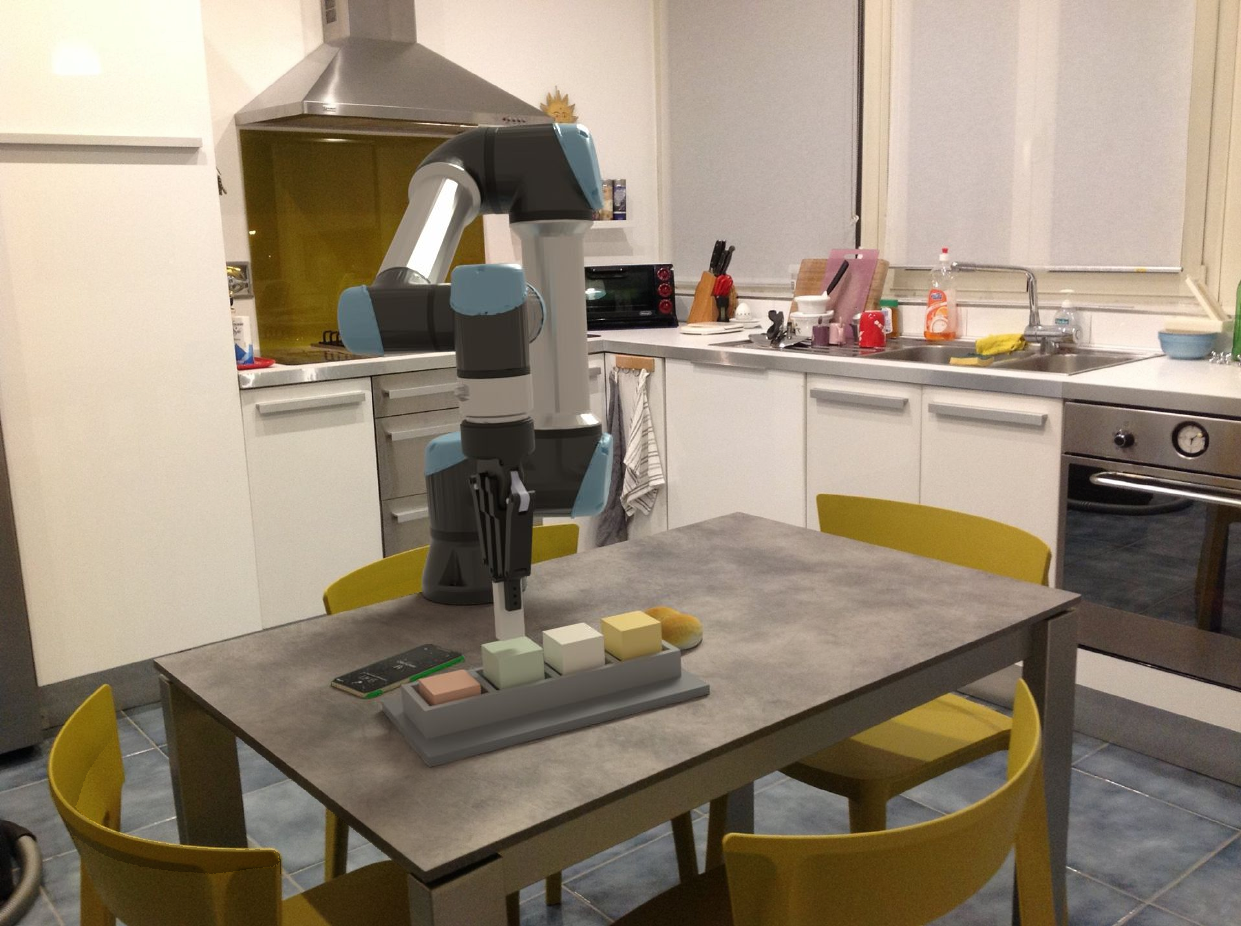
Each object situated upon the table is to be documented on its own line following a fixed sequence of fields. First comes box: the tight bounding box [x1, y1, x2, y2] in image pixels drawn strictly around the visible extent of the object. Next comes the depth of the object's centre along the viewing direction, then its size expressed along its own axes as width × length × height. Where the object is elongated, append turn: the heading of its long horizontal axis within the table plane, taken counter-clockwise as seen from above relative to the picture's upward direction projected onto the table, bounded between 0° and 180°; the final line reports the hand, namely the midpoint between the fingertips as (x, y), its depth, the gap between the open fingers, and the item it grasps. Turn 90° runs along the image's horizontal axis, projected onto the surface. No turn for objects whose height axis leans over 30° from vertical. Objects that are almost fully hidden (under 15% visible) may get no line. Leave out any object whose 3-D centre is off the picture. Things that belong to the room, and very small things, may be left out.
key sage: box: [481, 635, 545, 690], centre depth 121 cm, size 5×5×4 cm
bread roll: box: [642, 606, 704, 651], centre depth 140 cm, size 8×9×4 cm
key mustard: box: [600, 610, 662, 661], centre depth 127 cm, size 5×5×4 cm
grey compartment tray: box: [381, 640, 711, 768], centre depth 123 cm, size 16×32×4 cm, turn 118°
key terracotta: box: [418, 668, 481, 707], centre depth 118 cm, size 5×5×4 cm
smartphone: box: [330, 643, 465, 699], centre depth 134 cm, size 8×1×15 cm
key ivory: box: [542, 622, 605, 675], centre depth 124 cm, size 5×5×4 cm
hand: (510, 636), depth 120 cm, fingers closed
